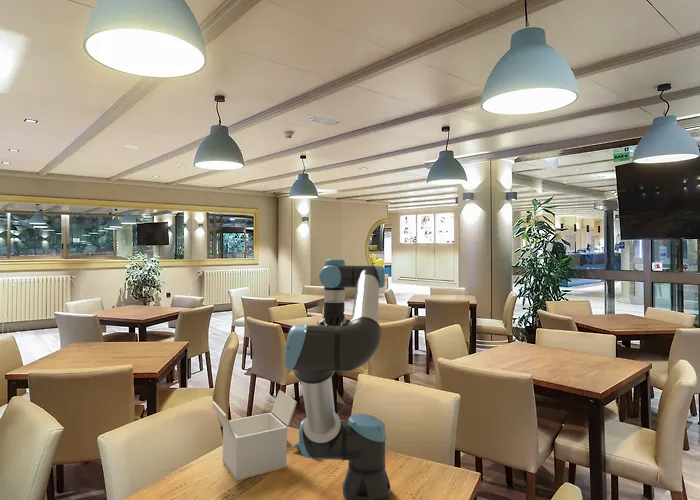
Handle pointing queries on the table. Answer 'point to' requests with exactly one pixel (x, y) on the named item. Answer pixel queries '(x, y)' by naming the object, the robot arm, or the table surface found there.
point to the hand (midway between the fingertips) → (333, 366)
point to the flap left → (223, 419)
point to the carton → (255, 446)
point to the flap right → (284, 407)
